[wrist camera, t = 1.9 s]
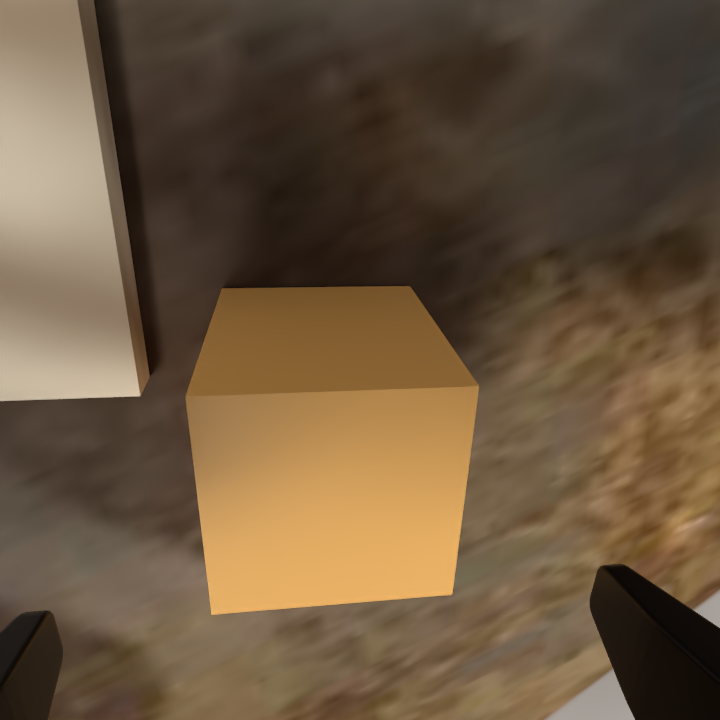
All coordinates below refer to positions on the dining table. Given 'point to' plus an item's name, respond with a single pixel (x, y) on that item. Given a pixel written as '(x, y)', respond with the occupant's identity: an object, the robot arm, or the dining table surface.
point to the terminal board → (62, 214)
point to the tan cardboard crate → (328, 448)
